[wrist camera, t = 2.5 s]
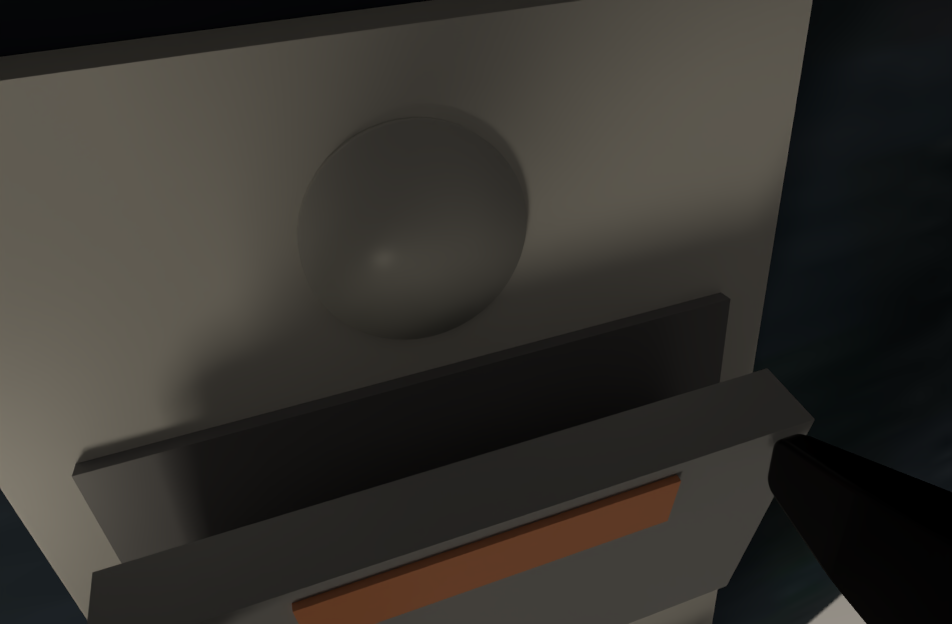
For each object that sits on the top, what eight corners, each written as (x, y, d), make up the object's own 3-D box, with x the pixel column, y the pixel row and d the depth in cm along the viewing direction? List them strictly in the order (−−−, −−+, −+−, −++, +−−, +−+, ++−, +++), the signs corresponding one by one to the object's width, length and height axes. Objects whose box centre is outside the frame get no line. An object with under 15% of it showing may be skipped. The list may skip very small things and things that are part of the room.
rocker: (696, 539, 15) (729, 591, 14) (220, 712, 13) (223, 787, 12) (767, 368, 11) (820, 425, 10) (92, 572, 9) (82, 670, 8)
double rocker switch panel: (640, 743, 28) (684, 828, 25) (319, 882, 25) (329, 998, 22) (702, -36, 13) (832, -32, 10) (-120, 72, 9) (-264, 121, 7)
